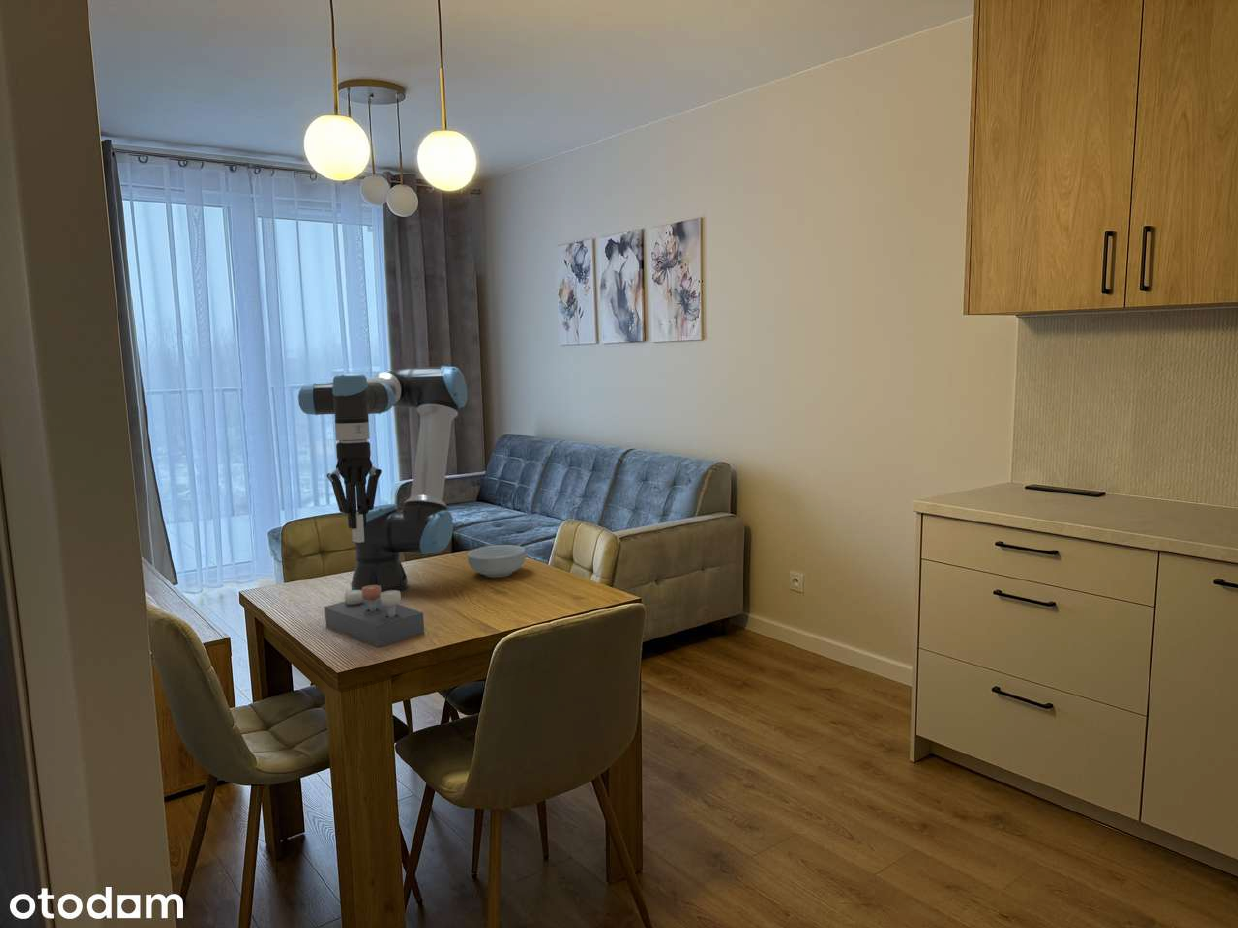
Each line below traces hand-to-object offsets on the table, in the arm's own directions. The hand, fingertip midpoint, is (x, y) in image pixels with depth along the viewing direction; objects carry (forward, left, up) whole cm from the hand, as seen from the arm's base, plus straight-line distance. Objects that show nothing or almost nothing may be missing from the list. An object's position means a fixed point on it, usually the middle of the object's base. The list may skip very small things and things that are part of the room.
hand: (358, 541), depth 192 cm
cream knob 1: (-1, -5, -21) cm, 21 cm away
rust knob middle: (-1, +3, -18) cm, 18 cm away
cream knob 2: (-1, +11, -18) cm, 21 cm away
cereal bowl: (-52, -13, -21) cm, 58 cm away
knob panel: (-1, +3, -21) cm, 21 cm away
